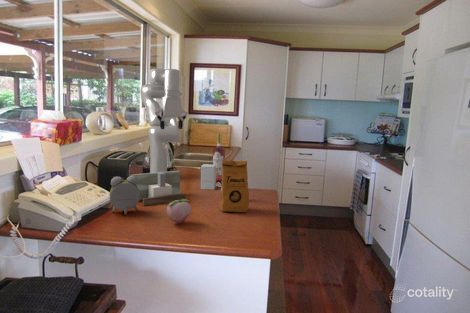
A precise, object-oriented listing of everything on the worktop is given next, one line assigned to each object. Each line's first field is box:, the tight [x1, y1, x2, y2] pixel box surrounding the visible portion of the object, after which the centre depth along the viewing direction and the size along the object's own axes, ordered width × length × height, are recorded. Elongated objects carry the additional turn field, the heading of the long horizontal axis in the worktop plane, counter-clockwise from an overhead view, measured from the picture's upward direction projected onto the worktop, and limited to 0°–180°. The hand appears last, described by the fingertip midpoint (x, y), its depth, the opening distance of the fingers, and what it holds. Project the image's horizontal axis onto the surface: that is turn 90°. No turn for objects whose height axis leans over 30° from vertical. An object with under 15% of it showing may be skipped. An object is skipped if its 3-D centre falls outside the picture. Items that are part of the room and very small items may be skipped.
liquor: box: [212, 133, 226, 183], centre depth 204 cm, size 7×7×28 cm
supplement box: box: [200, 163, 217, 191], centre depth 187 cm, size 7×7×13 cm
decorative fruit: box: [166, 198, 192, 224], centre depth 130 cm, size 9×8×10 cm
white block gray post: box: [148, 173, 172, 198], centre depth 161 cm, size 6×9×13 cm, turn 126°
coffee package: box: [219, 159, 250, 213], centre depth 148 cm, size 10×12×22 cm
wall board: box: [130, 170, 186, 207], centre depth 161 cm, size 11×24×12 cm, turn 125°
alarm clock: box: [109, 175, 140, 216], centre depth 140 cm, size 12×7×15 cm, turn 111°
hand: (171, 128), depth 175 cm, fingers open, 9 cm apart
